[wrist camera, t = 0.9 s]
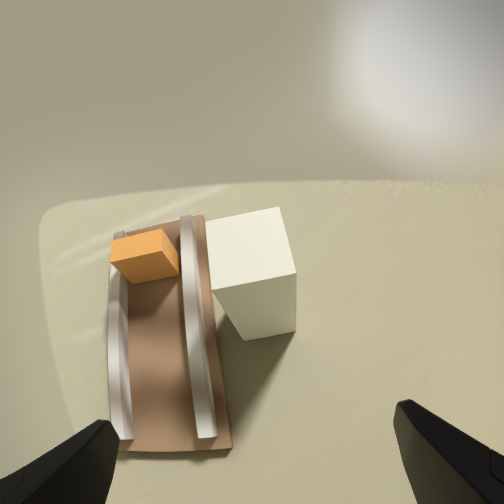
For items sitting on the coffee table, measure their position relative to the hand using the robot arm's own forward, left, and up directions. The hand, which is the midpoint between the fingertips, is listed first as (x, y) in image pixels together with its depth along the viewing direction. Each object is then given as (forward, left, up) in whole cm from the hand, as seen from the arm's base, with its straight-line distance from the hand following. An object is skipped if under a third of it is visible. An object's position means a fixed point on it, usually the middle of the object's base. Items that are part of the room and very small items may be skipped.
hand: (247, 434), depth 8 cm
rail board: (+9, +8, -14) cm, 18 cm away
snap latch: (+14, +8, -12) cm, 20 cm away
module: (+9, -1, -14) cm, 16 cm away
